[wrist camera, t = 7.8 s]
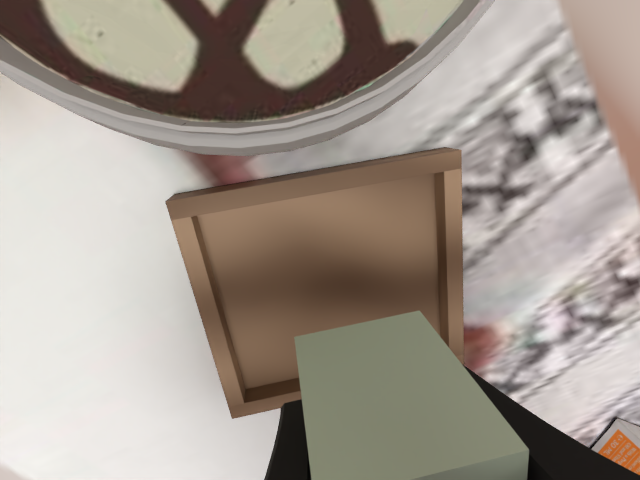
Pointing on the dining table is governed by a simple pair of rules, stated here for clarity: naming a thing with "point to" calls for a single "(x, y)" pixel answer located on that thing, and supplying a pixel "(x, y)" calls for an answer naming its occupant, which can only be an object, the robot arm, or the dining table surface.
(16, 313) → the dining table surface
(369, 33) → the food container
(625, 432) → the skincare box
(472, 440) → the sage block
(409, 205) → the walnut tray
